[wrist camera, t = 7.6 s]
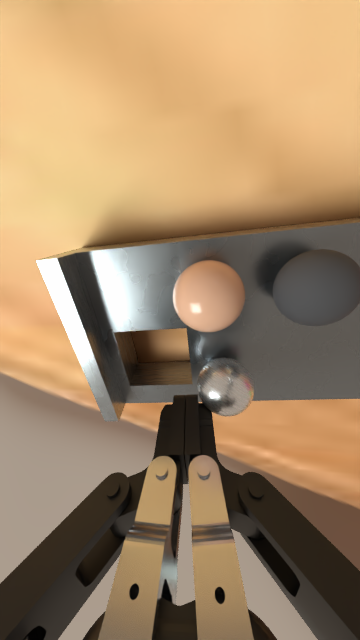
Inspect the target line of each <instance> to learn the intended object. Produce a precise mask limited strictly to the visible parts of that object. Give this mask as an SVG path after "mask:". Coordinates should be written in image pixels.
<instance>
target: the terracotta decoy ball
mask: <svg viewBox="0 0 360 640" xmlns="http://www.w3.org/2000/svg"><path fill="white" fill-rule="evenodd" d="M244 303H245V289H244V285H243V282H242V280H241V278H240V276H239V275H238V273H237V272H236V271H235V270H234V269H233V268H231V267H230V266H229V265H227V264H225V263H223V262H220V261H215V260H205V261H200V262H197V263H194V264H192V265H191V266H189V267H187V268H186V269H185V270H184V271H183V272H182V273H181V274H180V276H179V277H178V279H177V281H176V283H175V286H174V290H173V304H174V308H175V311H176V313H177V315H178V316H179V318H180V319H181V320H182V321H183V322H184V323H185V324H186V325H187V326H189V327H190V328H192V329H194V330H197V331H201V332H216V331H220V330H222V329H225V328H227V327H228V326H230V325H231V324H232V323H233V322H234V321H235V320H236V319H237V318H238V317H239V315H240V313H241V312H242V309H243V307H244Z"/></svg>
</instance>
